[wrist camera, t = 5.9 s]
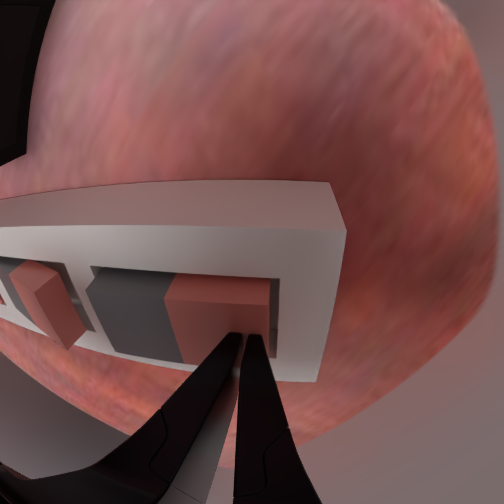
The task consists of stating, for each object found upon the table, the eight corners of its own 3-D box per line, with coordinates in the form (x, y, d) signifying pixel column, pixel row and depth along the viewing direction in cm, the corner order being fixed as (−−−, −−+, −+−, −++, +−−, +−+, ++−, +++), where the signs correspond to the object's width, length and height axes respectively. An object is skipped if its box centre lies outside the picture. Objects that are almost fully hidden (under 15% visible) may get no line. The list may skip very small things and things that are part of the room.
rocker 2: (127, 327, 11) (115, 352, 10) (103, 266, 9) (84, 290, 8) (269, 341, 11) (267, 371, 9) (270, 274, 9) (268, 304, 8)
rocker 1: (31, 294, 13) (15, 307, 12) (10, 247, 11) (-9, 261, 10) (86, 330, 11) (67, 350, 10) (58, 272, 9) (33, 292, 8)
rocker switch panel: (-15, 273, 18) (-39, 298, 14) (-41, 208, 14) (-70, 230, 11) (314, 316, 14) (315, 382, 11) (329, 182, 10) (346, 230, 7)
